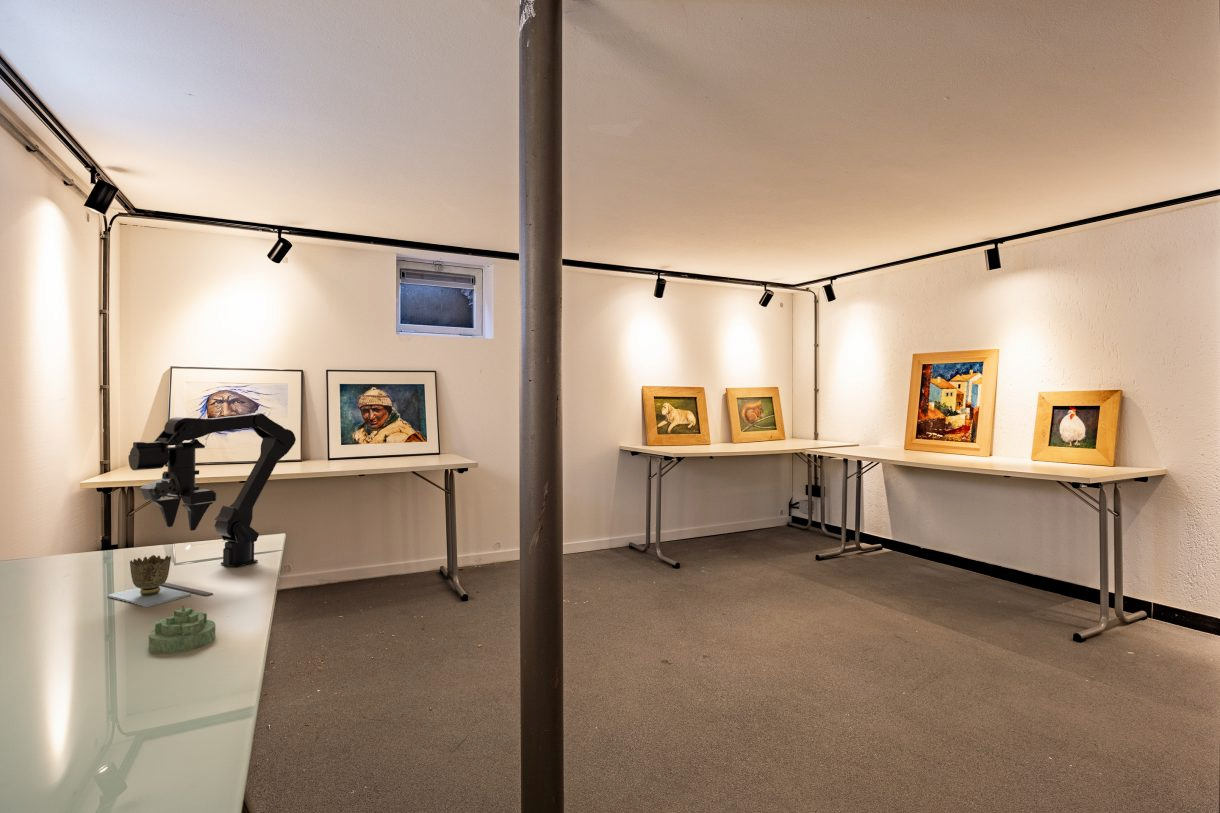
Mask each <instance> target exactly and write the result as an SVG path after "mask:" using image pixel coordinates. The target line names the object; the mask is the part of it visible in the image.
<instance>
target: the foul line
mask: <svg viewBox="0 0 1220 813" xmlns="http://www.w3.org/2000/svg"><path fill="white" fill-rule="evenodd" d="M164 586H166V587H165V588H168V587H169V588H170V589H174V590H179V591H183V592H187V593H191V594H196V595H199V596H204V597H208V596H212V595H214V593H213V592H209V591H206V590H201V589H196V588H192V587H187V586H183V585H179V584H174V583H170V582H166V581H165V583H164V584H162V586H161V587H164Z"/></svg>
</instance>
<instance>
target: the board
mask: <svg viewBox="0 0 1220 813" xmlns="http://www.w3.org/2000/svg"><path fill="white" fill-rule="evenodd" d="M159 587H160V591H159V593H157V594H155V595H150V596H143V595H141V594H140V590H141V589H140V588H137V587H135V588H130V589H127V590H122V591H119V592H114V593H110V594H107V596H106V597H107V598H109V599H112V598H113V600H116V599H117V601H120V600H122V601H121V602H124V601H126V602H125V603H128V602H131V603H130V604H132V603H134V604H133V605H136V604H137V606H140V605H141V606H140V607H144V608H150V607H153V606H157V605H160V604H164V603H167V602H168V603H169V602H172V601H176V600H179V599H184V598H186V597H190V596H192V593H190V592H186V591H181V590H177V589H173V588H168V587H164V586H159Z"/></svg>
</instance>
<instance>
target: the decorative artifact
mask: <svg viewBox="0 0 1220 813" xmlns="http://www.w3.org/2000/svg"><path fill="white" fill-rule="evenodd" d="M207 614H208V613H207V612H198V611H197V612H195V610H194V609H193V608H192V607H188V608H187V607H186V604H181V608H180V609H175V610H174V611H173V614H172V615H170V616H166V617H165V618H161V619H159V620H158V621H156V622H155V623H154V629H152V630H151V631H150V632H149V634H148V650H149V651H150V652H151V653H154V652H155V653H156V654H173V653H174V654H175V653H182V652H187V651H191V650H195V649H198V648H201V647H203V646H206V645H208V644H210V643H212V642H213V641H214V640H215V638H216V622H215V621H214V620H211V619H207V618H208V616H207Z"/></svg>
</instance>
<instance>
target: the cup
mask: <svg viewBox="0 0 1220 813" xmlns="http://www.w3.org/2000/svg"><path fill="white" fill-rule="evenodd" d="M171 560H172V556H171V555H170V556H168V555H165V557H164V558H161V556H160V555H158V556H157V555H154V554H152V555H151V556H149V558H148V557H147V556H146V555H145V556H144V558H143V559H141V557H137V559H135V558H133V560H130V561H129V566H130V575H131V581H132V583H133V585H134V586H135V588H140V589H141V590H140V594H141V595H143V596H150V595H155V594H157V593H159V591H160V587H159V586H161V585H162V584H164V583H165V582H166V581H167V579H168V578H169V573H170V566H171ZM161 587H162V586H161Z"/></svg>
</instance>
